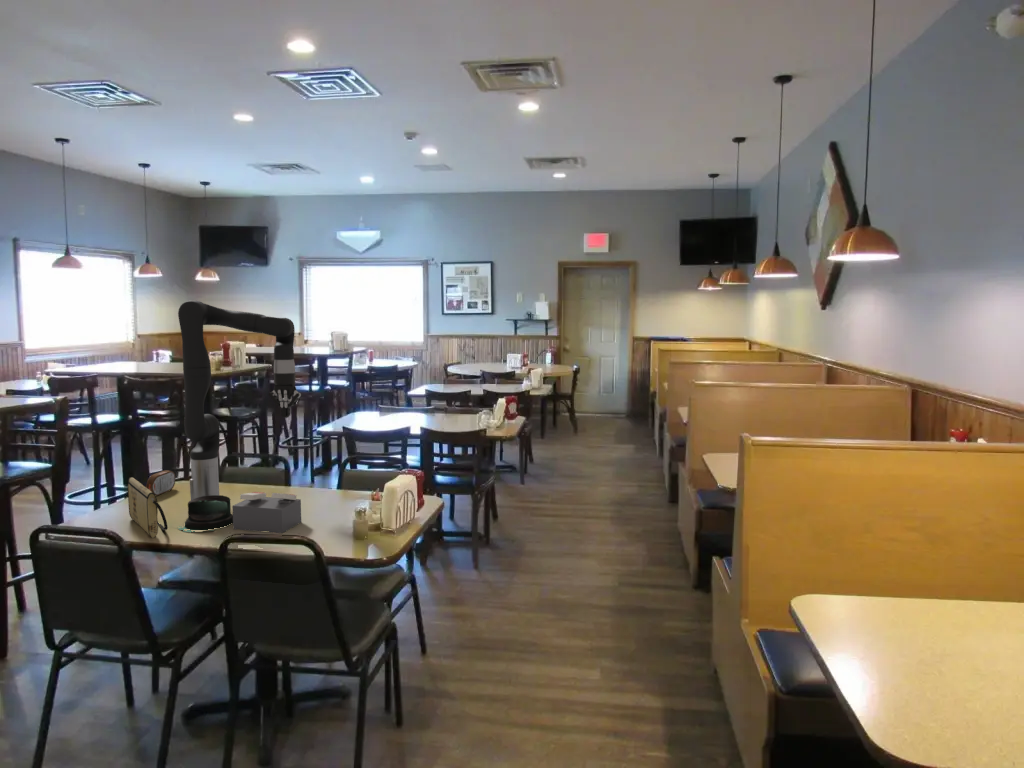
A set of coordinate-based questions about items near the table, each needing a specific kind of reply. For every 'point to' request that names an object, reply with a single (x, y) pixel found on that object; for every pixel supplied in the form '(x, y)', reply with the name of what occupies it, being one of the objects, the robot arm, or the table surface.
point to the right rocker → (284, 496)
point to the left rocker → (253, 496)
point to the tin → (161, 482)
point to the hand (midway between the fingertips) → (285, 417)
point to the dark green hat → (208, 513)
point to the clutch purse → (144, 507)
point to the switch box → (267, 514)
